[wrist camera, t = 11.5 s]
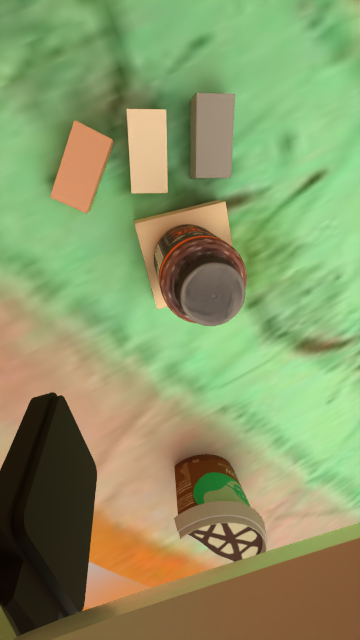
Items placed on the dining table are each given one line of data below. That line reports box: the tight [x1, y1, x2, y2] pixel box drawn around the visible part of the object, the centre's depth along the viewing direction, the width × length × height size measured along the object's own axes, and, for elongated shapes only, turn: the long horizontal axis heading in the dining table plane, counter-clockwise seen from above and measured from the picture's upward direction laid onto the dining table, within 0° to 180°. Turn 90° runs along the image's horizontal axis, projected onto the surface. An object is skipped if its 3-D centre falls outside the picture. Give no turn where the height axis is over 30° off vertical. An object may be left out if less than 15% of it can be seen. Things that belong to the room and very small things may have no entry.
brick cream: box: [127, 109, 168, 193], centre depth 28 cm, size 6×3×3 cm, turn 0°
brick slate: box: [190, 93, 235, 178], centre depth 28 cm, size 6×3×3 cm, turn 0°
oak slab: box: [134, 200, 232, 309], centre depth 32 cm, size 8×8×3 cm
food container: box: [174, 454, 267, 562], centre depth 40 cm, size 12×6×10 cm, turn 43°
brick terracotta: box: [50, 120, 114, 213], centre depth 28 cm, size 6×3×3 cm, turn 155°
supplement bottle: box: [154, 224, 247, 326], centre depth 25 cm, size 6×6×11 cm
